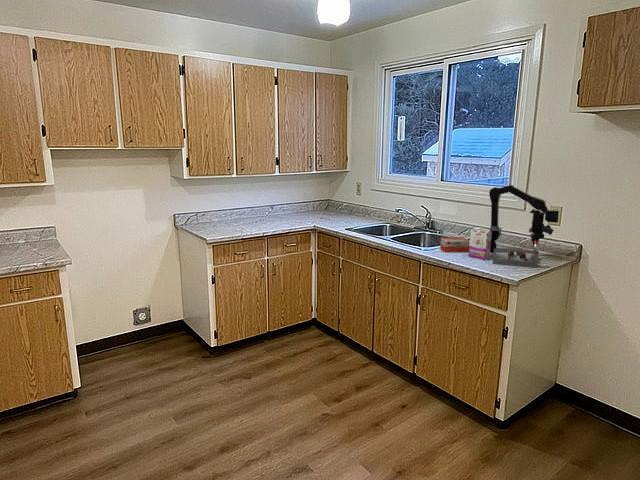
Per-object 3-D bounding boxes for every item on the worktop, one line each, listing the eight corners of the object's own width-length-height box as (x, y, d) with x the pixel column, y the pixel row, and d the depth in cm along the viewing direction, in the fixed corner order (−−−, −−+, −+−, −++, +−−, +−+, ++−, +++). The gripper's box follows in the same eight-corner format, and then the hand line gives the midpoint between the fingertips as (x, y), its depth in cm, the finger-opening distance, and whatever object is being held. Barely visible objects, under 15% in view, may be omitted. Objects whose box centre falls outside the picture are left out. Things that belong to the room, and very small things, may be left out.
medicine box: (444, 252, 260) (445, 240, 258) (439, 249, 267) (440, 237, 266) (468, 252, 261) (469, 239, 259) (462, 249, 269) (463, 237, 267)
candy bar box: (489, 258, 245) (492, 231, 242) (485, 260, 242) (488, 232, 239) (472, 255, 254) (474, 228, 250) (467, 256, 251) (470, 229, 247)
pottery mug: (524, 265, 235) (517, 252, 234) (509, 268, 242) (502, 256, 242) (532, 256, 242) (526, 243, 242) (517, 259, 250) (511, 247, 249)
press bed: (492, 263, 235) (494, 248, 233) (492, 261, 241) (493, 245, 239) (536, 268, 227) (538, 251, 225) (535, 265, 233) (537, 249, 231)
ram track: (532, 262, 237) (532, 261, 237) (530, 256, 250) (530, 255, 250) (539, 263, 236) (539, 262, 236) (537, 257, 249) (537, 256, 248)
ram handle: (531, 257, 245) (533, 240, 242) (531, 256, 247) (533, 239, 245) (537, 258, 244) (539, 240, 241) (537, 256, 246) (539, 239, 244)
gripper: (556, 224, 233) (552, 252, 237) (551, 219, 250) (547, 244, 254) (533, 223, 237) (530, 250, 241) (530, 218, 254) (527, 243, 258)
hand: (534, 247), depth 248 cm, fingers closed
